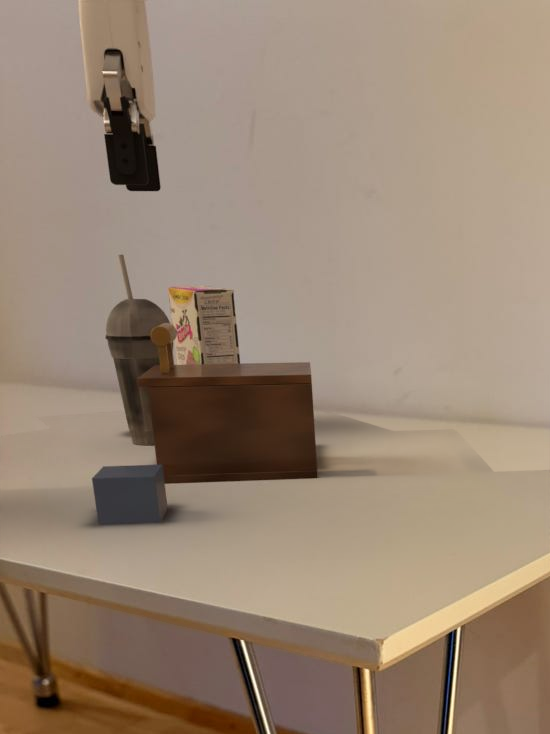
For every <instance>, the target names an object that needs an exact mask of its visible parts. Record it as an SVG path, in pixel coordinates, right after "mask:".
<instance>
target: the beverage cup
mask: <svg viewBox="0 0 550 734" xmlns="http://www.w3.org/2000/svg"><path fill="white" fill-rule="evenodd" d="M118 260H119V264H120V269H121V273H122V278H123V283H124V287H125V292H126V296H127V298H126V299H123V300H121V301H120V302H118V303H117V304H116V305H115V306H113V308H112V309H111V311H110V312H109V315H108V317H107V321H106V327H105V333H106V334H105V339H106V340H107V346H108V350H109V352H110V356H111V358H113V364H114V368H115V372H116V377H117V382H118V386H119V387H118V388H119V391H120V395H121V396H120V397H121V400H122V404H123V409H124V414H125V419H126V423H127V427H128V428H127V429H128V430H129V434H130V437H131V442H132V444H133V445H138V446H155V445H154V437H153V429H152V420H151V412H150V404H149V396H148V387H138V382H137V378H138V377H140V376H141V375H142V374H144V373H145V372H146V371H148V370H149V369H150V368H152V367H153V366H154V365H160V359H159V350H158V346H157V345H155V344H154V343H153V342H152V340H151V337H150V334H151V331H152V329H153V328H155V327H157V326H159V325H161V324H163V323H169V324H171V322H170V319H169V318H168V316H167V314H166V312H165V311H164V310H163V309H162V308H161V307H160V306H159V305H158V304H156V303H154V302H153V301H152V300H149V299H146V298H134V296H133V292H132V287H131V283H130V279H129V278H130V277H129V275H128V270H127V265H126V260H125V255H124V254H118ZM172 348H173V349H174V341H172Z"/></svg>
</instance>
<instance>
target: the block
mask: <svg viewBox="0 0 550 734" xmlns="http://www.w3.org/2000/svg"><path fill="white" fill-rule="evenodd" d="M91 482H92V488H93V489H92V490H93V496H94V502H95V503H94V504H95V508H96V510H95V511H96V516H97V523H98V526H109V525H110V526H111V525H113V526H114V525H132V524H133V525H135V524H157V523H158V524H159V523H161V522H162V521H163V518H164V517H165V515H166V513H167V511H168V509H169V508H168V499H167V492H166V491H167V490H166V484H165V482H164V474H163V465H157V464H144V465H143V464H139V465H138V464H135V465H134V464H133V465H108V466H107V465H106V466H102V467H101V468H100V469H99V470H98V471H97V472H96V474H94V476H93V477H91Z"/></svg>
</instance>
